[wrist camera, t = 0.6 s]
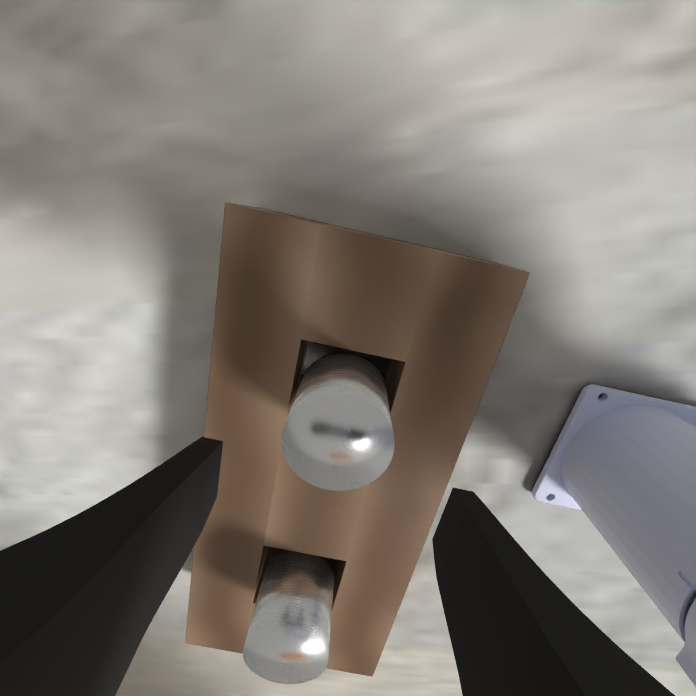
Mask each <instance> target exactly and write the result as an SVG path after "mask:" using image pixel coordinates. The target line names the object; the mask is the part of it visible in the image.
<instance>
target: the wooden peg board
mask: <svg viewBox="0 0 696 696" xmlns="http://www.w3.org/2000/svg"><path fill="white" fill-rule="evenodd" d="M529 274H530V273H529V272H525V271H522V270H518V269H515V268H511V267H508V266H505V265H501V264H498V263H494V262H490V261H486V260H482V259H477V258H473V257H469V256H464V255H460V254H456V253H451V252H447V251H443V250H438V249H434V248H430V247H425V246H421V245H417V244H412V243H408V242H404V241H399V240H395V239H391V238H386V237H382V236H378V235H373V234H369V233H365V232H360V231H356V230H352V229H347V228H343V227H339V226H334V225H330V224H326V223H321V222H317V221H313V220H308V219H304V218H300V217H295V216H291V215H287V214H282V213H278V212H274V211H270V210H265V209H261V208H257V207H251V206H244V205H238V204H231V203H225V212H224V223H223V233H222V244H221V255H220V266H219V277H218V288H217V299H216V310H215V321H214V332H213V343H212V354H211V365H210V376H209V387H208V398H207V409H206V420H205V431H204V437H205V438H210V439H215V440H220V441H223V448H222V457H221V466H220V475H219V484H218V492H217V498H216V501H215V503H214V505H213V508H212V510H211V512H210V515H209V517H208V519H207V521H206V524H205V526H204V528H203V530H202V533H201V534H200V536H199V538H198V540H197V542H196V543H195V545H194V552H193V562H192V573H191V584H190V595H189V606H188V617H187V628H186V639H185V643H187V644H193V645H198V646H204V647H210V648H215V649H221V650H226V651H232V652H238V653H243V648H244V645H245V641H246V637H247V634H248V630H249V626H250V623H251V619H252V616H253V612H254V608H255V605H256V601H257V597H258V594H259V590H260V586H261V583H262V579H263V576H264V572H265V568H266V566H267V564H268V562H269V561H270V560H271V559H272V558H273V557H274V556H276V555H278V554H280V553H282V552H285V551H295V552H301V553H306V554H311V555H316V556H320V557H322V558H323V559H324V560H326V561H327V562H328V563H329V565H330V566H331V568H332V570H333V573H334V587H333V601H332V614H331V628H330V642H329V655H328V664H327V667H326V668H328V669H333V670H339V671H344V672H350V673H356V674H361V675H367V676H373V674H374V671H375V669H376V666H377V664H378V661H379V659H380V656H381V653H382V651H383V648H384V646H385V643H386V641H387V638H388V635H389V633H390V630H391V628H392V625H393V623H394V620H395V618H396V615H397V612H398V610H399V607H400V605H401V602H402V600H403V597H404V595H405V592H406V589H407V587H408V584H409V582H410V579H411V577H412V574H413V571H414V569H415V566H416V564H417V561H418V559H419V556H420V554H421V551H422V548H423V546H424V543H425V541H426V538H427V536H428V533H429V530H430V528H431V525H432V523H433V520H434V518H435V515H436V513H437V510H438V507H439V505H440V502H441V500H442V497H443V495H444V492H445V489H446V487H447V484H448V482H449V479H450V477H451V474H452V472H453V469H454V466H455V464H456V461H457V459H458V456H459V454H460V451H461V449H462V446H463V443H464V441H465V438H466V436H467V433H468V431H469V428H470V425H471V423H472V420H473V418H474V415H475V413H476V410H477V408H478V405H479V402H480V400H481V397H482V395H483V392H484V390H485V387H486V384H487V382H488V379H489V377H490V374H491V372H492V369H493V367H494V364H495V361H496V359H497V356H498V354H499V351H500V349H501V346H502V343H503V341H504V338H505V336H506V333H507V331H508V328H509V326H510V323H511V320H512V318H513V315H514V313H515V310H516V308H517V305H518V303H519V300H520V297H521V295H522V292H523V290H524V287H525V285H526V282H527V279H528V277H529ZM308 341H311V342H316V343H320V344H325V345H330V346H334V347H339V348H344V349H348V350H353V351H357V352H362V353H367V354H371V355H376V356H380V357H385V358H390V360H389V364H388V367H387V371H386V375H385V378H384V381H385V385H386V390H387V396H388V403H389V409H390V415H391V422H392V428H393V434H394V444H395V445H394V453H393V457H392V459H391V462H390V464H389V465H388V467H387V469H386V470H385V471H384V472H383V474H381V475H380V476H379V477H378V478H377V479H376V480H374V481H373V482H371V483H369V484H368V485H365V486H363V487H360V488H357V489H353V490H346V491H333V490H326V489H322V488H319V487H316V486H314V485H312V484H310V483H308V482H306V481H304V480H303V479H301V478H300V477H299V476H298V475H297V474H296V473H295V472H294V471H293V470H292V469H291V468H290V466H289V465H288V463H287V461H286V459H285V457H284V454H283V451H282V445H281V437H282V431H283V428H284V425H285V422H286V420H287V417H288V414H289V412H290V409H291V406H292V404H293V401H294V398H295V396H296V393H297V390H298V388H299V385H300V381H301V376H302V371H303V365H304V360H305V355H306V350H307V344H308Z"/></svg>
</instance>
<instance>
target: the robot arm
mask: <svg viewBox="0 0 696 696" xmlns="http://www.w3.org/2000/svg"><path fill="white" fill-rule="evenodd" d="M602 393H603V395H602V397H600V398H598V396H599V395H600V394H602ZM222 448H223V441H220V440H215V439H210V438H205V437H201V438H200V439H198V440H196V441H195V442H193V443H192V444H190V445H189V446H187V447H186V448H185V449H183V450H182V451H180V452H179V453H177V454H176V455H174V456H173V457H171V458H170V459H168V460H167V461H165V462H164V463H163V464H161V465H160V466H158V467H156V468H155V469H153V470H152V471H150V472H149V473H147V474H146V475H144V476H142V477H141V478H139V479H138V480H136V481H135V482H133V483H131V484H130V485H128V486H126V487H125V488H123V489H121V490H120V491H118V492H116V493H115V494H113V495H111V496H110V497H108V498H106V499H104V500H103V501H101V502H99V503H98V504H96V505H94V506H92V507H90V508H89V509H87V510H85V511H83V512H81V513H79V514H77V515H76V516H74V517H72V518H70V519H68V520H66V521H64V522H62V523H60V524H58V525H56V526H54V527H52V528H50V529H48V530H46V531H44V532H41V533H39V534H37V535H35V536H33V537H31V538H28V539H26V540H24V541H22V542H19V543H17V544H15V545H13V546H10V547H8V548H6V549H3V550H1V551H0V696H115V695H116V693H117V691H118V688H119V686H120V684H121V682H122V680H123V678H124V676H125V674H126V671H127V669H128V667H129V665H130V663H131V661H132V659H133V657H134V655H135V652H136V650H137V648H138V646H139V644H140V642H141V640H142V638H143V636H144V634H145V632H146V630H147V628H148V626H149V624H150V623H151V621H152V619H153V617H154V615H155V613H156V612H157V610H158V608H159V606H160V605H161V603H162V601H163V599H164V598H165V596H166V594H167V592H168V591H169V589H170V587H171V585H172V584H173V582H174V580H175V578H176V577H177V575H178V573H179V571H180V570H181V568H182V566H183V564H184V563H185V561H186V559H187V557H188V556H189V554H190V552H191V550H192V549H193V547H194V545H195V543H196V542H197V540H198V538H199V536H200V534H201V533H202V530H203V528H204V526H205V524H206V521H207V519H208V517H209V515H210V512H211V510H212V508H213V505H214V503H215V501H216V498H217V492H218V484H219V475H220V466H221V457H222ZM549 494H551V495H549ZM532 495H533V497H534V498H535V499H536V500H537V501H540V502H545V503H549V504H554V505H559V506H564V507H569V508H574V509H579V510H583V512H584V513H585V514H586V516H587V517H588V518H589V520H590V521H591V522H592V523H593V525H594V526H595V527H596V529H597V530H598V531H599V532H600V534H601V535H602V536H603V538H604V539H605V540H606V541H607V543H608V544H609V545H610V547H611V548H612V549H613V551H614V552H615V553H616V554H617V556H618V557H619V558H620V560H621V561H622V562H623V563H624V565H625V566H626V567H627V569H628V570H629V571H630V572H631V574H632V575H633V576H634V578H635V579H636V580H637V581H638V583H639V584H640V585H641V587H642V588H643V589H644V591H645V592H646V593H647V594H648V596H649V597H650V598H651V600H652V601H653V602H654V603H655V605H656V606H657V607H658V609H659V610H660V611H661V612H662V614H663V615H664V616H665V618H666V619H667V620H668V622H669V623H670V624H671V625H672V627H673V628H674V629H675V631H676V632H677V633H678V634H679V636H680V637H681V638H682V640H683V641H684V642H685V644H684V647H683V648H682V650H681V652H680V653H679V654H678V655H677V656H676V660H677V662H678V663H679V664H680V666H681V667H682V669H683V670H684V671H685V673H686V674H687V675H688V677H689V678H690V680H691V681H692V682H693V684H694V685H695V686H696V407H695V406H691V405H686V404H681V403H677V402H672V401H668V400H663V399H659V398H654V397H649V396H645V395H640V394H636V393H631V392H627V391H622V390H617V389H613V388H608V387H604V386H599V385H595V384H590V385H587V386H586V387H584V388H583V390H582V391H581V393H580V395H579V397H578V399H577V401H576V403H575V405H574V407H573V409H572V411H571V413H570V415H569V417H568V419H567V421H566V423H565V425H564V427H563V429H562V431H561V433H560V435H559V437H558V439H557V441H556V443H555V445H554V447H553V449H552V451H551V454H550V456H549V458H548V460H547V462H546V464H545V466H544V468H543V470H542V472H541V474H540V476H539V478H538V480H537V482H536V484H535V486H534V488H533V490H532ZM547 495H549V496H547ZM433 550H434V560H435V568H436V576H437V581H438V586H439V590H440V595H441V599H442V604H443V608H444V613H445V617H446V621H447V626H448V630H449V634H450V639H451V643H452V647H453V651H454V656H455V660H456V664H457V669H458V673H459V678H460V683H461V689H462V694H463V696H675V695H674V694H672V693H671V692H670V691H669V690H668V689H666V688H665V687H664V686H663V685H662V684H661V683H660V682H658V681H657V680H656V679H655V678H654V677H653V676H651V675H650V674H649V673H648V672H647V671H646V670H644V669H643V668H642V667H641V666H640V665H639V664H637V663H636V662H635V661H634V660H633V659H632V658H631V657H629V656H628V655H627V654H626V653H625V652H624V651H623V650H622V649H621V648H619V647H618V646H617V645H616V644H615V643H614V642H613V641H612V640H611V639H610V638H609V637H608V636H606V635H605V634H604V633H603V632H602V631H601V630H600V629H599V628H598V627H597V626H596V625H595V624H594V623H593V622H592V621H591V620H590V619H589V618H588V617H587V616H585V615H584V614H583V613H582V612H581V611H580V610H579V609H578V608H577V607H576V606H575V605H574V604H573V603H572V602H571V601H570V600H569V599H568V598H567V597H566V596H565V594H564V593H563V592H562V591H561V590H560V589H559V588H558V587H557V586H556V585H555V584H554V583H553V582H552V581H551V580H550V579H549V578H548V577H547V576H546V574H545V573H544V572H543V571H542V570H541V569H540V568H539V567H538V566H537V565H536V563H535V562H534V561H533V560H532V559H531V558H530V557H529V556H528V555H527V553H526V552H525V551H524V550H523V549H522V548H521V547H520V545H519V544H518V543H517V542H516V541H515V540H514V538H513V537H512V536H511V535H510V534H509V533H508V531H507V530H506V529H505V528H504V527H503V526H502V524H501V523H500V522H499V521H498V520H497V518H496V517H495V516H494V515H493V514H492V513H491V511H490V510H489V509H488V508H487V507H486V506H485V504H484V503H483V502H482V501H481V500H480V499H479V498H478V497H477V495H476V494H475V493H474V492H472V491H467V490H462V489H457V488H453V489H452V492H451V494H450V497H449V499H448V502H447V504H446V507H445V509H444V512H443V514H442V517H441V519H440V522H439V524H438V527H437V529H436V532H435V534H434V537H433Z"/></svg>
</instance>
